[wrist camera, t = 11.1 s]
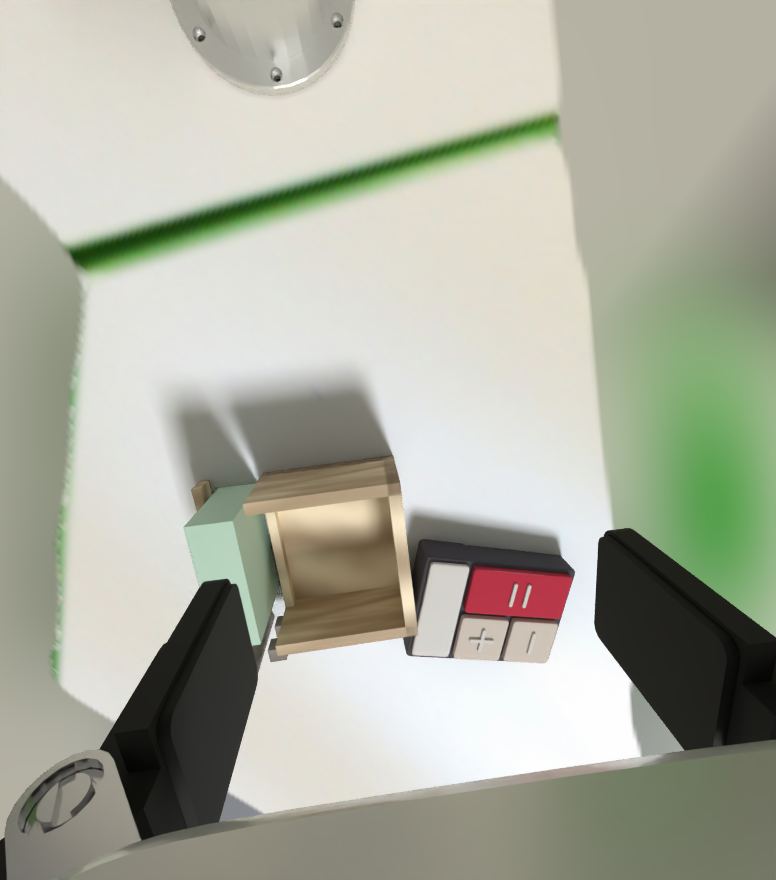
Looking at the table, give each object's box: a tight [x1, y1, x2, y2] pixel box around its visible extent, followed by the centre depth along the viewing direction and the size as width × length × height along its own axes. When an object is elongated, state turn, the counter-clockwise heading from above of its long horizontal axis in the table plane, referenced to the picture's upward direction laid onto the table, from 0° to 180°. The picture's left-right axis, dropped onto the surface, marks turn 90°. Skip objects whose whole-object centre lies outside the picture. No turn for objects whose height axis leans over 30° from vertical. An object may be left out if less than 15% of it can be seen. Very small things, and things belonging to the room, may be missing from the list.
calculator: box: [403, 539, 575, 663], centre depth 42 cm, size 11×4×15 cm
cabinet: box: [191, 456, 418, 672], centre depth 36 cm, size 16×18×8 cm
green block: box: [184, 483, 279, 646], centre depth 36 cm, size 12×4×8 cm, turn 6°
